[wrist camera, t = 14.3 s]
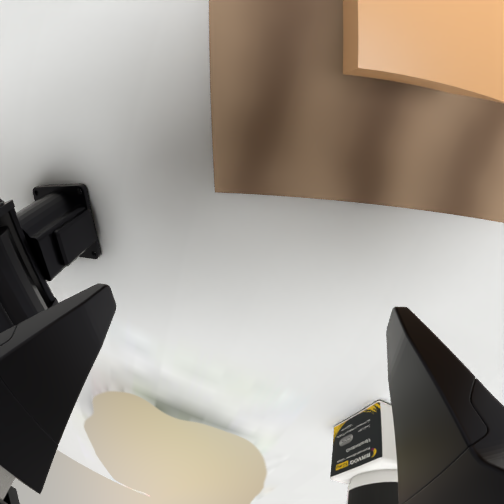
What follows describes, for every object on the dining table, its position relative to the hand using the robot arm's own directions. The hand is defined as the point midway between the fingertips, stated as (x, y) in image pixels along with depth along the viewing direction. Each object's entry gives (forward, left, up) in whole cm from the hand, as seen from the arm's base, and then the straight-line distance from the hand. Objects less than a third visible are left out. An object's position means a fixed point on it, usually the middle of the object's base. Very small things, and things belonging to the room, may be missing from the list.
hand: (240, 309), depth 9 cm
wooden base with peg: (+6, +10, -12) cm, 16 cm away
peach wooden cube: (+6, +10, -9) cm, 15 cm away
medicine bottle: (+12, -25, -12) cm, 30 cm away
